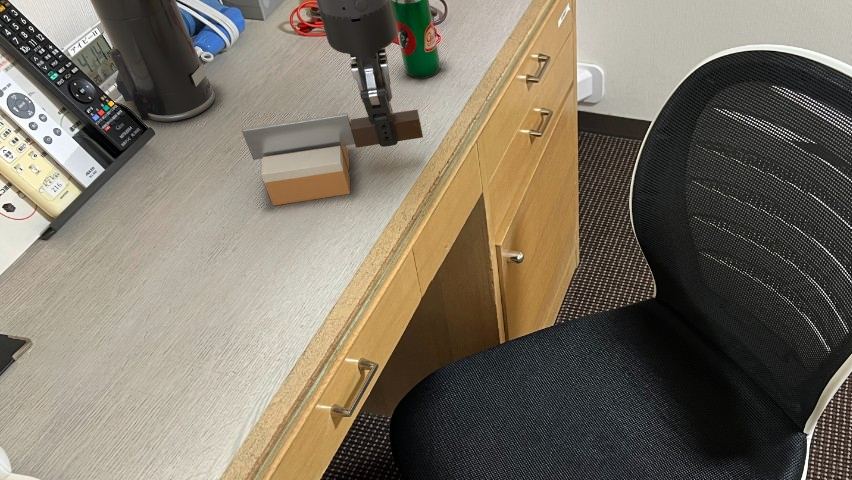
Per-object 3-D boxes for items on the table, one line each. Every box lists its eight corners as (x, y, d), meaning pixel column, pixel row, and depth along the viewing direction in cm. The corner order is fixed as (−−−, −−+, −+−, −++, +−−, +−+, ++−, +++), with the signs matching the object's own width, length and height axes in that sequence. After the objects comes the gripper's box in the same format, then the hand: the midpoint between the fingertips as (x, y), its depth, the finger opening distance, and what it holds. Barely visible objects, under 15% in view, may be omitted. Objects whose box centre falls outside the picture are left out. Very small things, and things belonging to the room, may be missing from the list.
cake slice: (273, 205, 98) (261, 174, 94) (274, 188, 100) (262, 156, 97) (350, 193, 99) (340, 162, 96) (349, 176, 101) (340, 145, 98)
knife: (252, 164, 97) (240, 134, 94) (253, 153, 98) (242, 124, 95) (423, 137, 99) (416, 108, 96) (421, 127, 101) (415, 98, 98)
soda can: (438, 79, 117) (423, -5, 108) (403, 80, 117) (385, -3, 108) (442, 61, 120) (428, -21, 111) (408, 62, 120) (391, -20, 111)
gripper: (316, -26, 91) (355, 112, 104) (316, 32, 82) (359, 176, 94) (385, -34, 92) (415, 104, 105) (392, 22, 83) (424, 165, 95)
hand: (388, 137), depth 99 cm, fingers closed on knife, 2 cm apart
